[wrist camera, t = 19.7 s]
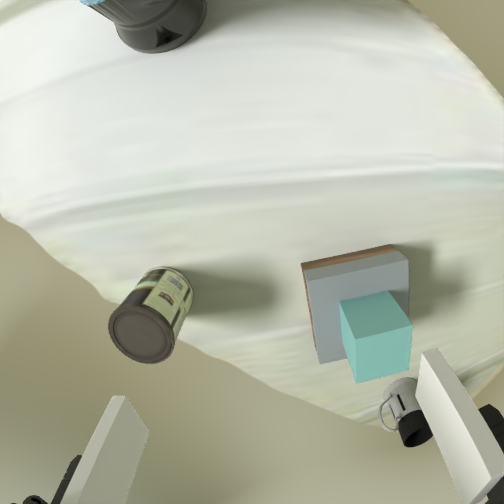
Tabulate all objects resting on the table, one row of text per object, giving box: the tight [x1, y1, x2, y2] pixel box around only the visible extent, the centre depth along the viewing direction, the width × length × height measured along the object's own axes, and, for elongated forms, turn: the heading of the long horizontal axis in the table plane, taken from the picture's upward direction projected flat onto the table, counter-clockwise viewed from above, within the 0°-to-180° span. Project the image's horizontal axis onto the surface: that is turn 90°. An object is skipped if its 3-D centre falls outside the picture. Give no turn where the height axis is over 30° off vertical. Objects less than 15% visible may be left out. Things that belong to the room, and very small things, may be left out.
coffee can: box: [108, 267, 193, 364], centre depth 47 cm, size 10×10×14 cm
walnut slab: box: [301, 244, 397, 351], centre depth 51 cm, size 16×16×4 cm
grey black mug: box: [378, 377, 433, 447], centre depth 53 cm, size 9×14×15 cm, turn 70°
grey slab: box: [304, 251, 409, 364], centre depth 47 cm, size 16×16×4 cm
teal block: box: [339, 290, 413, 384], centre depth 41 cm, size 8×8×10 cm
